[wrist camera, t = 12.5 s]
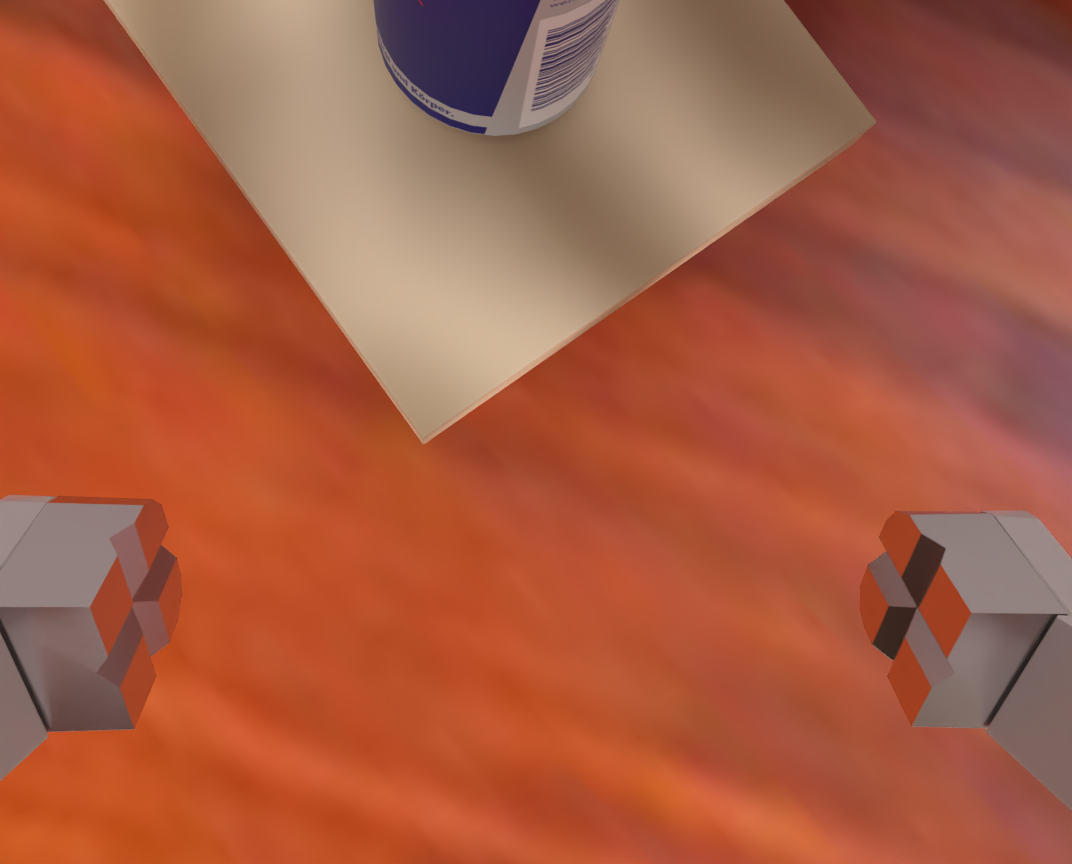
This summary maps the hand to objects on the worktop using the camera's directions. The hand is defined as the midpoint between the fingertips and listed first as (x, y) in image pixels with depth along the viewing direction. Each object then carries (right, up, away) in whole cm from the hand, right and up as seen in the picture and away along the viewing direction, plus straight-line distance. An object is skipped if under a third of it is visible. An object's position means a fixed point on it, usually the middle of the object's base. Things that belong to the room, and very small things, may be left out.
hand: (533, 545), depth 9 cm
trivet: (-2, +10, +15) cm, 19 cm away
